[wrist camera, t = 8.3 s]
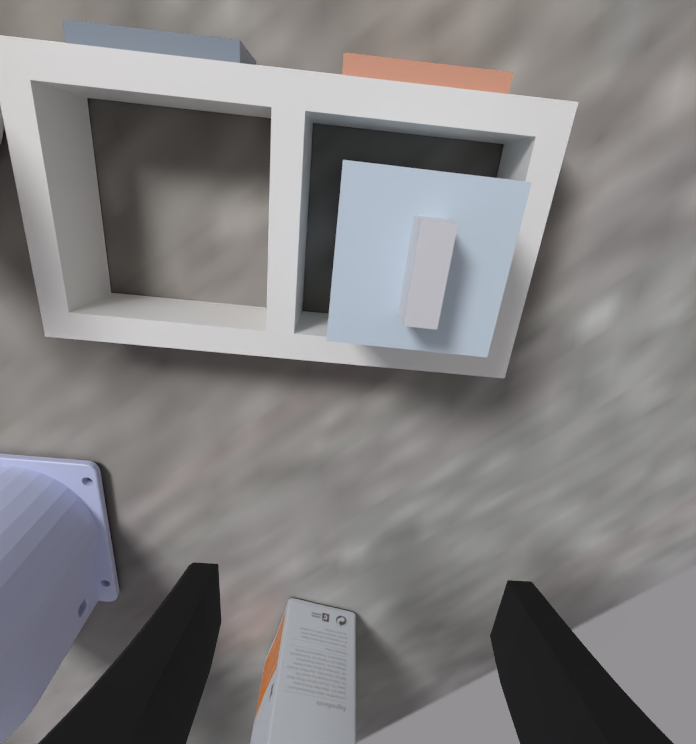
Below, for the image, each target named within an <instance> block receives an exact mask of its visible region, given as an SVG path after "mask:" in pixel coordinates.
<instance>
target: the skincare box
mask: <svg viewBox="0 0 696 744" xmlns="http://www.w3.org/2000/svg"><path fill="white" fill-rule="evenodd" d="M250 744H356V615H355V613H353V612H350V611H346V610H342V609H338V608H334V607H329V606H325V605H321V604H316V603H312V602H308V601H304V600H300V599H295V598H290V599H289V600H288V603H287V606H286V609H285V612H284V615H283V617H282V620H281V622H280V625H279V628H278V631H277V633H276V635H275V638H274V640H273V642H272V645H271V647H270V650H269V652H268V654H267V656H266V660H265V665H264V671H263V677H262V682H261V687H260V692H259V698H258V704H257V709H256V714H255V720H254V725H253V731H252V736H251V742H250Z"/></svg>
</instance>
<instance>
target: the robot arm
mask: <svg viewBox="0 0 696 744" xmlns="http://www.w3.org/2000/svg"><path fill="white" fill-rule="evenodd" d="M87 478H90V479H91V480H92V481H91V480H89V479H87ZM119 592H120V591H119V585H118V579H117V572H116V566H115V560H114V554H113V548H112V541H111V535H110V529H109V523H108V516H107V510H106V504H105V498H104V492H103V485H102V479H101V473H100V469H99V466H98V465H97V464H96V463H94V462H92V461H86V460H74V459H61V458H49V457H37V456H25V455H12V454H0V743H1V742H3V741H4V740H5V739H6V738H7V737H8V736H10V735H11V734H12V733H13V732H14V731H15V730H16V729H17V728H18V727H19V726H20V725H21V724H22V722H23V721H24V720H25V719H26V718H27V717H28V715H29V714H30V713H31V711H32V710H33V709H34V707H35V706H36V704H37V703H38V701H39V699H40V698H41V696H42V694H43V693H44V691H45V689H46V688H47V686H48V684H49V683H50V681H51V679H52V678H53V676H54V674H55V673H56V671H57V669H58V668H59V666H60V664H61V662H62V661H63V659H64V657H65V656H66V654H67V652H68V651H69V649H70V647H71V646H72V644H73V642H74V641H75V639H76V637H77V636H78V634H79V632H80V631H81V629H82V627H83V626H84V624H85V622H86V621H87V619H88V617H89V616H90V614H91V612H92V611H93V609H94V607H95V606H96V604H97V602H98V601H105V602H112V601H115V600H116V599H117V597H118V595H119ZM220 625H221V609H220V590H219V571H218V564H208V563H192V564H191V565H189V566H188V568H187V569H186V571H185V572H184V574H183V575H182V576H181V578H180V579H179V581H178V582H177V583H176V585H175V586H174V588H173V589H172V590H171V592H170V593H169V594H168V596H167V597H166V598H165V600H164V601H163V602H162V604H161V605H160V606H159V608H158V609H157V610H156V612H155V613H154V614H153V615H152V617H151V618H150V619H149V620H148V622H147V623H146V624H145V625H144V627H143V628H142V629H141V630H140V632H139V633H138V634H137V635H136V637H135V638H134V639H133V640H132V642H131V643H130V644H129V645H128V646H127V648H126V649H125V650H124V651H123V652H122V654H121V655H120V656H119V657H118V658H117V659H116V660H115V662H114V663H113V664H112V665H111V666H110V667H109V668H108V670H107V671H106V672H105V673H104V674H103V675H102V676H101V678H100V679H99V680H98V681H97V682H96V683H95V684H94V686H93V687H92V688H91V689H90V690H89V691H88V692H87V693H86V694H85V695H84V697H83V698H82V699H81V700H80V701H79V702H78V703H77V704H76V705H75V706H74V707H73V708H72V709H71V710H70V711H69V713H68V714H67V715H66V716H65V717H64V718H63V719H62V720H61V721H60V722H59V723H58V724H57V725H56V726H55V727H54V728H53V729H52V730H51V731H50V732H49V733H48V734H47V735H46V736H45V737H44V738H43V739H42V740H41V741H40V742H39V743H38V744H186V741H187V738H188V735H189V732H190V729H191V726H192V723H193V720H194V717H195V714H196V711H197V708H198V705H199V702H200V699H201V696H202V693H203V690H204V687H205V684H206V681H207V678H208V674H209V671H210V668H211V664H212V660H213V656H214V651H215V647H216V643H217V638H218V634H219V629H220ZM490 636H491V641H492V646H493V651H494V656H495V661H496V665H497V670H498V673H499V678H500V682H501V686H502V689H503V692H504V695H505V698H506V702H507V705H508V708H509V711H510V714H511V717H512V720H513V723H514V726H515V729H516V732H517V735H518V738H519V741H520V744H673V743H672V742H671V741H670V740H669V739H668V737H666V736H665V734H664V733H662V731H661V730H660V729H658V727H657V726H656V725H655V724H654V723H653V722H652V721H651V720H650V719H649V718H648V717H647V716H646V715H645V713H644V712H642V710H641V709H640V708H639V707H638V706H637V705H636V704H635V703H634V702H633V701H632V700H631V698H630V697H629V696H628V695H627V694H626V693H625V692H624V691H623V690H622V689H621V687H619V685H618V684H617V683H616V682H615V681H614V680H613V678H612V677H611V676H610V675H609V674H608V673H607V672H606V670H604V668H603V667H602V666H601V665H600V663H599V662H598V661H597V660H596V659H595V658H594V657H593V656H592V654H591V653H590V652H589V651H588V650H587V648H586V647H585V646H584V645H583V644H582V642H581V641H580V640H579V639H578V638H577V637H576V635H575V634H574V633H573V632H572V630H571V629H570V628H569V627H568V626H567V624H566V623H565V622H564V621H563V619H562V618H561V617H560V616H559V615H558V613H557V612H556V611H555V610H554V608H553V607H552V606H551V605H550V604H549V602H548V601H547V600H546V599H545V597H544V596H543V595H542V594H541V593H540V591H539V590H538V589H537V588H536V586H535V585H534V584H533V583H532V582H526V581H507V584H506V587H505V591H504V594H503V597H502V600H501V603H500V606H499V610H498V613H497V616H496V619H495V622H494V625H493V629H492V632H491V635H490Z"/></svg>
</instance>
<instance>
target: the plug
mask: <svg viewBox="0 0 696 744" xmlns="http://www.w3.org/2000/svg"><path fill="white" fill-rule="evenodd" d="M531 183H532V182H526V181H518V180H509V179H501V178H493V177H484V176H476V175H467V174H459V173H451V172H442V171H434V170H425V169H417V168H409V167H400V166H392V165H383V164H375V163H367V162H358V161H350V160H343V165H342V176H341V187H340V197H339V208H338V219H337V230H336V241H335V252H334V262H333V273H332V284H331V295H330V306H329V317H328V327H327V338H326V341H330V342H340V343H350V344H360V345H370V346H379V347H389V348H399V349H409V350H419V351H428V352H438V353H448V354H458V355H468V356H477V357H487V356H488V353H489V349H490V345H491V341H492V337H493V333H494V329H495V325H496V321H497V317H498V313H499V309H500V305H501V301H502V297H503V294H504V290H505V286H506V282H507V278H508V274H509V270H510V266H511V262H512V258H513V254H514V250H515V246H516V242H517V238H518V234H519V231H520V227H521V223H522V219H523V215H524V211H525V207H526V203H527V199H528V195H529V191H530V187H531Z"/></svg>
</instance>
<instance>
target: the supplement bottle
mask: <svg viewBox="0 0 696 744" xmlns="http://www.w3.org/2000/svg"><path fill="white" fill-rule="evenodd" d="M3 130H4V121H3V116H2V110H1V105H0V145H1V141H2V137H3Z"/></svg>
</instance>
